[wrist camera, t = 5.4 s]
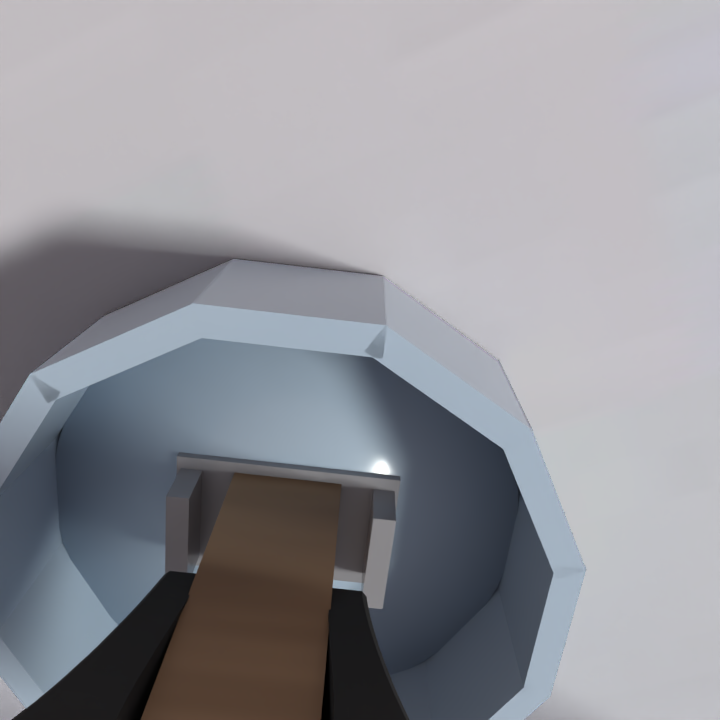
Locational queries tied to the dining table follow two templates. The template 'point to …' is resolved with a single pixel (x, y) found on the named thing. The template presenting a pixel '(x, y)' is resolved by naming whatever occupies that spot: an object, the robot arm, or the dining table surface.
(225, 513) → the long wooden beam
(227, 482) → the pale blue round tray
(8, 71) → the dining table surface
